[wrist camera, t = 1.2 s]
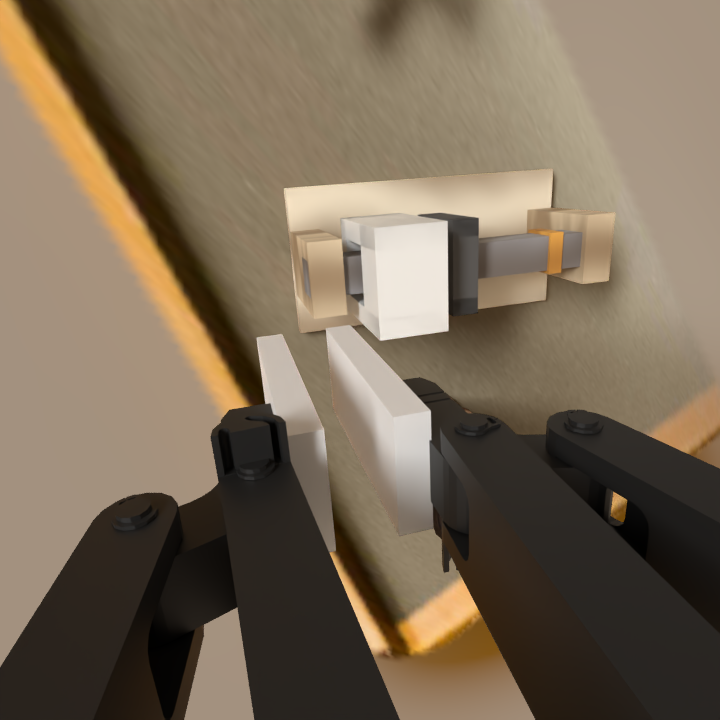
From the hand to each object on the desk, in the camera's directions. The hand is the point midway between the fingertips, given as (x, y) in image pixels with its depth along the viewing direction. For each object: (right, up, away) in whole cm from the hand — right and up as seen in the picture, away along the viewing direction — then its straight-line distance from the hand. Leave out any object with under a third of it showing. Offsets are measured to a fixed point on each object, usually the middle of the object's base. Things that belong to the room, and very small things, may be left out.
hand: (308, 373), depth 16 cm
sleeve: (+2, +7, +19) cm, 20 cm away
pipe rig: (+6, +9, +23) cm, 26 cm away
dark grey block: (+6, +8, +20) cm, 22 cm away
